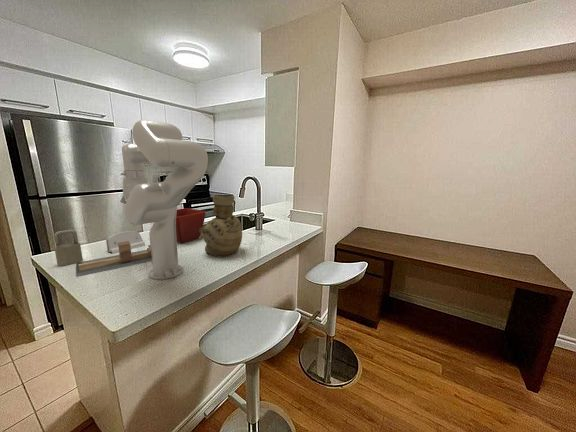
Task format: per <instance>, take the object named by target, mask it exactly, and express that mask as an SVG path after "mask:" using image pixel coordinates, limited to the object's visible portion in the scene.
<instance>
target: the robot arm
mask: <svg viewBox="0 0 576 432" xmlns="http://www.w3.org/2000/svg"><path fill="white" fill-rule="evenodd" d="M131 131H132V132H131V133H132V140H133V141H134V143H127V144H123V145H122V147H121V152H122V153H121V155H122V161H123V162H122V163H123V171H120V172H119V173H120V176H124V177H123V178H122V196H121V198H120V203H122V204H125V205H124V209H123V212H124V213H123V214H124V218H125V220H126V221H127V222H128V223H129V224H131V225H134V226H138V225H145V224H151V223H152V226H151V227H150V229H149V245H150V247H151V257H152V261H151V266H152V269H151V270H149V271H148V277H149V278H150V279H153V280H166V279H172V278H174V277H177V276H179V275H181V274H182V273H183V271H184V267H183V266H182V265H180V263H179V253H178V242H177V238H176V215H177V209H178V206H179V205H180V204H181V203H182V202H183V200H184V199H185V198H186V197H187V196H188V194H189V193H190V192H191V190H192V189H193V188H195V186H196V185H197V184H198V183H199V182H200V181H201V180H202V178H203V177H204V175H205V174H206V171H207V168H208V163H209V162H208V161H209V159H208V158H209V157H208V153H207V152H208V151H207V150H206V148H205V147H204V146H203V145H202V144H200V143H198V142H195V141H191V140H183V134H182V131H181V130H180V129H179V128H178V126H176V125H173V124H171V123H168V122H161V121H154V120H153V121H152V120H146V119H141V120H138V121H137V122H135V123H134V124H133V126H132V130H131ZM145 164H151V165H152V166H154V167H157V168H159V167H160V168H175V169H174V170H172V171H170V172H169V173H168V174H167V176H166V177H165V179H164V180H163V181H159V182H149V178H148V177H146V173H145Z"/></svg>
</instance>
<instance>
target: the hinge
mask: <svg viewBox="0 0 576 432" xmlns="http://www.w3.org/2000/svg"><path fill="white" fill-rule="evenodd" d="M125 241H129V242H130V247H131V250H133V249H137V248H141V247H144V246H146V243H145V241H144V240H143V237H142V236H141V233H140V232H139V231H135V230H130V231H129V230H128V231H121V232H118V233H115V234H113V235H110V236H109V237H107V238H106V239H105V243H106V249H107V251H106V252H107V253H110V252H111V254H112V255H114V254H118V253H119V247H118V243H119V242H125Z"/></svg>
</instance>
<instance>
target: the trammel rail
mask: <svg viewBox="0 0 576 432" xmlns="http://www.w3.org/2000/svg"><path fill="white" fill-rule="evenodd" d="M146 248H147V249H146V250H147V252H142V253H137V254H131V255H132V260H135V259H139V258H144V257H151V247H150V244H148V247H146ZM120 262H121V257H115V258H110V259H105V260H99V261H94V262H89V263H83V264H79V271H80V270H85V269H90V268H95V267H100V266H105V265H110V264H115V263H120Z"/></svg>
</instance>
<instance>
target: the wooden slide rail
mask: <svg viewBox="0 0 576 432" xmlns="http://www.w3.org/2000/svg"><path fill="white" fill-rule="evenodd" d="M142 252H147V249H143V250H137V251H133V252H132V251H131V254H137V253H142ZM115 257H120V255H119V254H117V255H112V256H111V255H110V256H106V257H100V258H94V259H89V260H88V259H87V260H83V261H80V262H77V263H75V275H76V277H82V276H87V275H90V274H91V275H92V274H96V273H100V272H105V271H109V270H115V269H119V268H123V267H129V266H133V265H137V264H143V263H147V262H152V257H144V258H139V259H135V260H131V261H126V262H120V263H115V264H110V265H105V266H100V267H95V268H90V269H85V270H80V271H79V264H83V263H89V262H94V261H99V260H105V259H110V258H115Z"/></svg>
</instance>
